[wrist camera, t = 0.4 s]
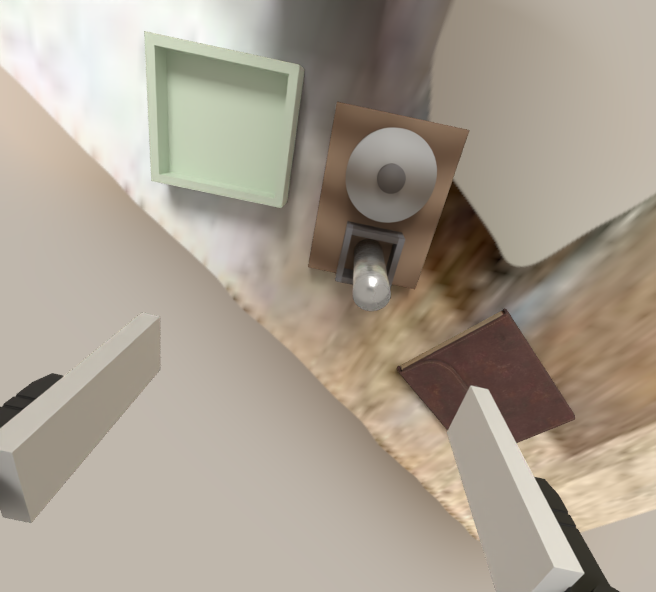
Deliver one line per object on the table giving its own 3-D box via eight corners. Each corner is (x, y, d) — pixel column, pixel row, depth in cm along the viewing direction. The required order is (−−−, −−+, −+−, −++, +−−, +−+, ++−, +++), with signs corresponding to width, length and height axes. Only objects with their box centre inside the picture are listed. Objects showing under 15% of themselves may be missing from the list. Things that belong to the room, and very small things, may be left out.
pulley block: (338, 102, 32) (334, 98, 27) (463, 129, 32) (482, 130, 27) (310, 260, 39) (303, 279, 34) (412, 281, 39) (420, 303, 34)
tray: (162, 39, 31) (144, 31, 28) (304, 69, 31) (299, 64, 28) (166, 176, 36) (151, 181, 33) (287, 202, 36) (281, 208, 34)
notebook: (503, 306, 40) (510, 314, 38) (570, 409, 46) (579, 420, 45) (396, 364, 45) (397, 374, 43) (469, 451, 51) (473, 463, 50)
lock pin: (357, 236, 35) (357, 273, 26) (385, 242, 35) (395, 281, 26) (351, 262, 37) (349, 306, 28) (378, 268, 37) (385, 314, 28)
